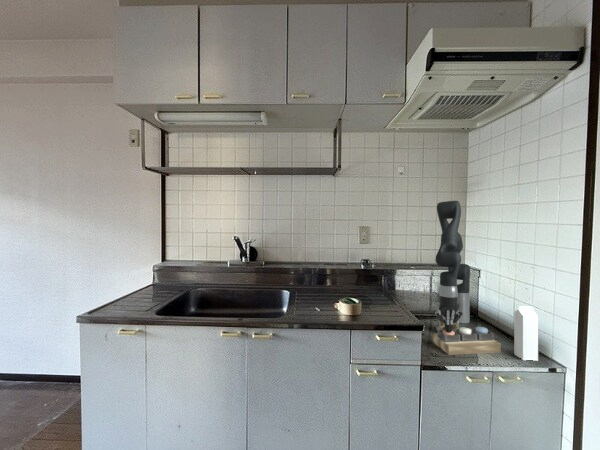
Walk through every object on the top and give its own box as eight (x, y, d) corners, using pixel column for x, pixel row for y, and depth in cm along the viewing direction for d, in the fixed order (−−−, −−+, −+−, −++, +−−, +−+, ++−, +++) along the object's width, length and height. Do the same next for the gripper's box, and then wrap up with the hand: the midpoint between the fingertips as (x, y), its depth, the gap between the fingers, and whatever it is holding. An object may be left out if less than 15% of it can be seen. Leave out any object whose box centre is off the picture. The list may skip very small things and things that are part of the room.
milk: (514, 354, 132) (513, 304, 131) (528, 354, 131) (528, 304, 131) (523, 360, 126) (522, 308, 125) (538, 361, 125) (538, 308, 125)
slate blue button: (473, 332, 142) (473, 326, 142) (483, 331, 143) (483, 326, 143) (480, 336, 137) (480, 330, 137) (490, 335, 138) (490, 330, 138)
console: (432, 341, 146) (432, 327, 146) (479, 339, 147) (479, 325, 147) (448, 354, 132) (448, 338, 132) (500, 352, 133) (500, 336, 133)
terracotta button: (440, 335, 141) (440, 330, 141) (450, 334, 142) (450, 329, 142) (446, 339, 136) (446, 334, 136) (456, 339, 137) (456, 333, 137)
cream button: (456, 332, 142) (456, 327, 142) (467, 332, 142) (466, 327, 142) (463, 336, 137) (463, 331, 137) (473, 336, 137) (473, 331, 137)
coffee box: (440, 334, 155) (440, 303, 155) (436, 329, 161) (436, 300, 161) (459, 334, 154) (459, 303, 154) (454, 330, 160) (454, 300, 160)
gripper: (457, 292, 143) (457, 328, 143) (430, 293, 142) (430, 329, 142) (467, 296, 135) (467, 334, 136) (438, 297, 134) (438, 335, 135)
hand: (448, 331), depth 139 cm, fingers closed
